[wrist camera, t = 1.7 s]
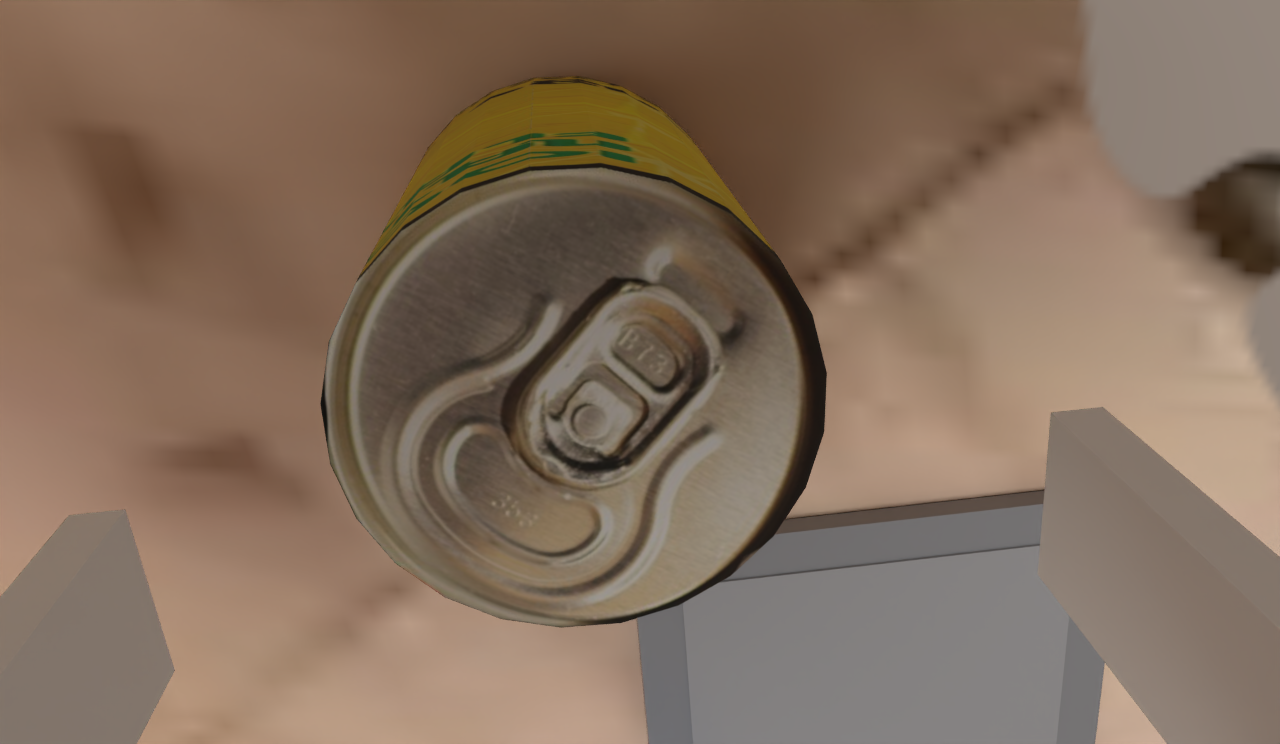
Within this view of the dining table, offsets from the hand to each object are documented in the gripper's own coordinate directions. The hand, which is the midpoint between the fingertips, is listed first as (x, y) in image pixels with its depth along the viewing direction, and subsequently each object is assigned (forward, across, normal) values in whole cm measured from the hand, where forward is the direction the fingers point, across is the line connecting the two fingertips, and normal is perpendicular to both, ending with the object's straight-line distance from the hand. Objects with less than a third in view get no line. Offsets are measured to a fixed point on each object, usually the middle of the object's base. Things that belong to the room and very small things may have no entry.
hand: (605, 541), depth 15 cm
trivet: (+16, +9, -18) cm, 25 cm away
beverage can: (+16, 0, 0) cm, 16 cm away
